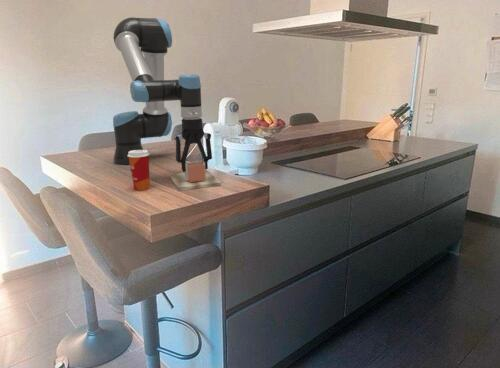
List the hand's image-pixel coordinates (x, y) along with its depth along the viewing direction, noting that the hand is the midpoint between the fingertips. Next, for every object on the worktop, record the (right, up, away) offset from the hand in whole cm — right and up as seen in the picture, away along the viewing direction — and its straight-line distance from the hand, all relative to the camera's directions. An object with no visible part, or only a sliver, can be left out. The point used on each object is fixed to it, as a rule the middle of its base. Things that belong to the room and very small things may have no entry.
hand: (195, 178), depth 144 cm
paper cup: (-19, -4, -5) cm, 20 cm away
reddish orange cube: (0, 0, 0) cm, 0 cm away
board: (-1, -1, +3) cm, 4 cm away
